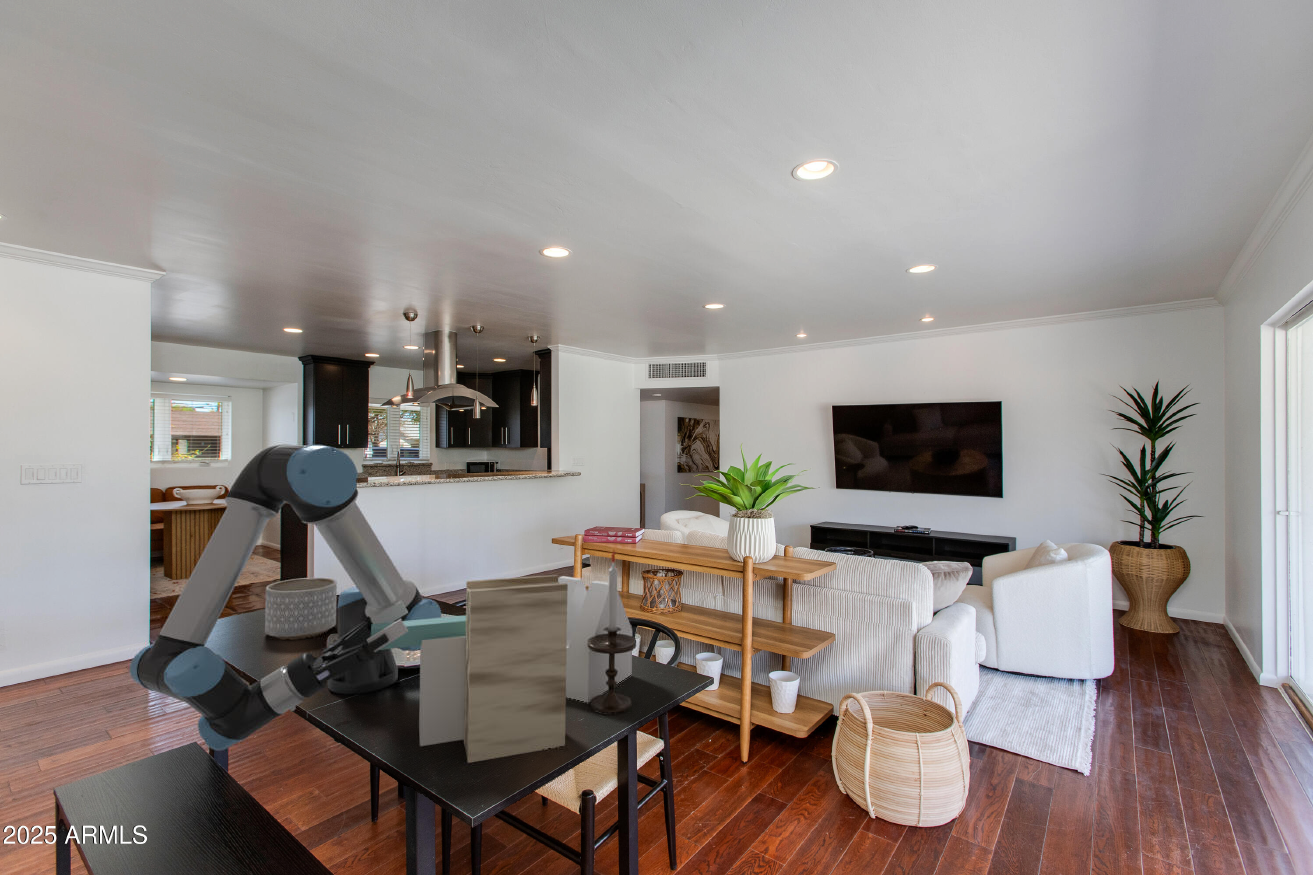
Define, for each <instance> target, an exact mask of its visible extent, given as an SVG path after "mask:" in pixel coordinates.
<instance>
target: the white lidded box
mask: <svg viewBox="0 0 1313 875" xmlns="http://www.w3.org/2000/svg"><path fill="white" fill-rule="evenodd" d="M465 642H466V636H459V637H449V638H439V639H429V640H422V645H421V650H419V651H420V658H419V659H420V660H419V661H420V662H419V663H420V664H419V666H420V667H419V706H418V707H419V710H418V711H419V713H418V714H419V717H418V719H419V720H418V729H419V730H418V731H419V747H424V746H431V745H436V744H442V743H443V744H444V743H449V742H455V741H456V742H457V741H462V740H463V741H464V698H465Z"/></svg>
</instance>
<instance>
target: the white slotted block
mask: <svg viewBox="0 0 1313 875" xmlns="http://www.w3.org/2000/svg"><path fill="white" fill-rule="evenodd" d="M558 582H559V583H560V584H563V583H567V584H568V590H567V651H566V697H567V698H566V699H569V698H571V699H570V700H573V699H576V700H575V701H577V700H580V701H579V702H581V701H584V702H583V703H585V702H587V703H586V704H589V703H591V702H590V701H591V700H592V699H593V698H594V697H596V696H598V695H601V694H602V693H603V692H605V691H607V690H608V685H606V681H608V677H607V675H606V673H605V671H606V670H607V669H608V668H609V654H605V653H598V652H594V651H592V650H590V649H589V648H588V639H590V638H591V637H595V636H597V635H601V634H608V632H607V631H604V630H603V629H604V628H606V627H608V603H609V582H607V581H599V580H594V581H590V583H589V586H588V588H586V586H585V583H584V581H583V579H582V578H579V577H572V576H565V575H562V576H558ZM616 627H619V628H621V630H620V631H617V634H625V635H629V636H632V637H633V628H632V626H631V622H630V620H629V618H628V615H627V612H626V609H625V607H624V605H623V602H622V599H621V596H620V594H619V590H617V624H616ZM632 659H633V650H631V651H629V652H625V653H618V654H615V669H617V671H618V673H617V676H615V681H617V684H618V683H619V682H621V681H622V680H624V679H625V678H627V677H628V676H630V675H632V672H633V671H632V667H633V663H632V662H633V660H632ZM630 677H631V676H630ZM627 679H628V678H627ZM625 680H626V679H625ZM625 680H624V681H625ZM622 682H623V681H622ZM622 682H621V683H622ZM619 684H620V683H619ZM619 684H618V685H619ZM607 692H608V691H607ZM605 693H606V692H605ZM603 694H604V693H603ZM588 702H589V703H588Z"/></svg>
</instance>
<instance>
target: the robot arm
mask: <svg viewBox="0 0 1313 875" xmlns="http://www.w3.org/2000/svg"><path fill="white" fill-rule="evenodd" d="M358 474H359V473H358V470H357V466H356V464H355V462H354V461H353V459H352V458H351V457H350V456H349V455H348V454H347V453H346V452H344V451H343V450H341V449H338V448H336V447H333V446H328V445H323V444H309V445H304V444H303V445H300V444H299V445H297V444H276V445H272V446H268V447H266V448H264V449H263V450H261V451H260V452H258V453H257V454H256V455H255V456H254V457H253V458H251V460H249V462H248V463H247V464H246V465H245V466H244V467H243V469H242V470H241V471H240V472H239V474H238V476H237V477H236V479H235V481H234V483H233V484H232V485H231V488H230V489H229V490H228V493H227V495H226V496H225V498H224V501H225V503H226V505H227V506H226V509H225V511H224V513H223V515H222V517H221V518H220V520H219V522H218V524H217V526H216V528H215V530H214V531H213V533H212V535H211V537H210V539H209V541H208V542H207V544H206V546H205V548H204V550H203V552H202V553H201V556H200V557H199V560H198V561H197V563H196V565H195V567H194V568H193V570H192V573H191V574H190V576H189V578H188V580H187V582H186V584H185V585H184V587H183V589H182V591H181V593H180V594H179V596H178V598H177V600H176V602H175V604H174V605H173V608H172V609H171V612H170V613H169V615H168V617H167V619H166V620H165V623H164V625H163V627H162V629H161V630H160V632H159V634H158V636H157V637H156V640H155V642H154V643H152V644H149V645H147V646H145V647H143V648H142V649H141V650H140V651H139V652H137V653H136V654H135V656H134V657H133V658H132V661H131V662H130V667H129V673H130V677H131V679H132V680H133V681H134V682H135V683H137V684H138V685H140V686H142V687H143V688H145V689H147V690H149V691H152V692H157V693H159V694H163V695H165V696H167V697H170V698H173V699H175V700H177V701H181V702H184V703H185V704H187V705H188V706H190V707H191V708H192V709H194V710H195V711H197V713H199V714H200V715H201V716H200V717H199V719H198V722H197V728H198V729H197V730H198V733H199V736H200V737H201V739H203V741H204V742H205V744H206V745H207V746H208V747H209V748H210V749H212V750H214V751H224V750H225V749H226V750H227V749H228V748H230V747H232V746H233V745H236V744H237V743H239V742H241V741H244V740H246V739H247V738H248V737H249V736H251V735H253V734H254V733H255V732H257V731H258V730H260V729H261V728H263V727H264V726H266V725H267V724H269V723H271V721H273V720H275V719H276V718H279V717H280V716H281V715H283V714H286V713H287V711H290V712H294V711H295V710H296V708H297V707H296V706H298V705H300V704H301V703H303V702H304V701H305V698H307V699H309V698H311V697H313V696H314V695H316V694H317V693H319V692H321V691H322V690H324V689H325V688H326V687H328V689H329V690H330V691H331V692H333V693H337V694H342V695H358V694H359V695H360V694H364V693H365V694H366V693H371V692H375V691H380V690H382V689H385V688H387V687H389V686H392V685H393V684H395V682H397V680H398V673H399V672H398V671H399V669H398V665H397V663H396V660H395V656H394V653H393V649H384V650H380V649H381V648H383V647H384V646H386V645H388V644H389V643H391V642H392V641H394V640H396V639H397V638H399V637H400V636H402V635H404V634H405V633H407V632H408V630H407V628H406V626H405V625H404V623H403V622H402V621H410V620H421V619H432V618H442V610H441V608H440V606H439V604H438V603H437V602H436V601H435V600H432V598H425V597H423V596H422V593H421V592H420V591H419V588H418V587H417V585H416V584H415V583H414V582H413V581H411V580H408V579H406V580H405V579H404V578H403V577H402V576H401V574H400V572H399V570H398V569H397V567H396V566H395V564H394V562H393V561H392V559H391V558H390V556H389V554H388V553H387V551H386V549H385V548H384V546H383V544H382V542H381V541H380V540H379V538H378V536H377V535H376V533H375V532H374V530H373V528H372V527H371V525H370V524H369V522H368V520H367V518H366V517H365V515H364V513H363V512H362V511H361V509H360V507H359V505H358V504H357V503H356V501H357V498H358V496H359V491H358V488H357V487H358V482H357V479H358V478H359V475H358ZM286 503H288V504H289V505H290V507H292V510H293V511H294V512H295V513H296V515H297V516H298V518H299V520H301V522H302V523H304V524H308V525H314V526H315V527H316V530H317V531H318V533H320V535H321V537H322V538H323V539H324V541H325V542H326V544H327V546H328V547H329V548H330V550H331V552H332V553H333V555H335V557H336V559H337V560H338V562H339V563H340V565H341V566H342V568H343V569H344V571H345V572H346V573H347V575H348V576H349V578H350V580H352V581H351V582H353V585H355V586H354V587H350V588H346V589H345V590H342V591H341V592H340V594H339V596H338V601H337V602H338V604H337V606H336V610H337V639H336V641H334V642H333V643H331V644H330V645H328V646H326V647H325V648H323V649H322V654H321V655H320V656H319V657H315V656H314V655H313V654H312V653H309V652H305V653H303V654H301V655H300V656H298V657H296V658H295V659H293V660H291V661H290V662H288V664H287V665H283V666H282V665H281V667H279V668H277V669H276V670H274V671H272V672H271V673H269V674H268V675H266V676H264V677H263V678H261V679H260V680H258V681H256V682H254V683H252V684H251V685H249V683H247V682H246V681H245V680H244V679H243V678H242V677H241V676H240V675H238V673H237V672H235V670H233V669H232V667H231V666H230V665H228V664H227V662H225V660H224V659H223V657H222V656H221V655H220V654H218V653H215V652H214V650H212V649H210V648H209V647H207V646H206V644H207V642H208V640H209V637H210V636H211V635H212V632H213V629H214V628H215V626H216V624H217V622H218V620H219V618H220V616H221V614H222V612H223V610H224V609H225V606H226V605H227V602H228V601H229V598H230V596H231V594H232V593H233V591H234V589H235V587H236V584H237V583H238V580H239V578H240V577H241V575H242V574H243V571H244V568H245V567H246V565H247V563H248V561H249V559H250V557H251V555H252V553H253V552H254V549H255V547H256V546H257V543H258V542H259V540H260V537H261V535H262V533H263V531H264V530H265V528H266V526H267V523H268V522H269V521H270V520H271V519H273V518H276V517H277V516H278V514H279V512H280V510H281V508H283V506H284V505H285V504H286ZM388 622H394V623H393V624H391V625H389V626H388V627H386V628H385V629H383V630H381V631H380V632H378V633H376V634H375V635H373V636H372V637H371V626H372V624H377V623H388ZM397 649H399V650H401V651H403V652H406V651H408V652H418V651H421V646H412V647H402V648H397ZM327 685H328V686H327Z"/></svg>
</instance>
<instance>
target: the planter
mask: <svg viewBox="0 0 1313 875" xmlns="http://www.w3.org/2000/svg"><path fill="white" fill-rule="evenodd" d="M337 588H338V586H337V580H336V579H334V578H329V577H328V578H327V577H304V578H301V577H300V578H292V579H288V580H287V579H286V580H282V581H281V580H280V581H277V582H276V581H275V582H273V583H271V584H268V585H267V586H266V587H265V611H264V612H265V616H264V618H265V620H264V633H265V634H266V635H267V636H271V637H273V636H274V637H276V638H275V639H277V638H280V639H279V640H286V639H290V640H297V639H296V638H302V639H306V638H305V637H309V638H312V637H311V636H313V637H316V635H317V636H320V635H323V634H325V633H327V632H328V631H329V630H330V629H332V628H333V627H335V626H336V624H337V593H338V592H337ZM324 632H325V633H324ZM322 633H323V634H322ZM319 634H320V635H319ZM274 637H273V638H274Z"/></svg>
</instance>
